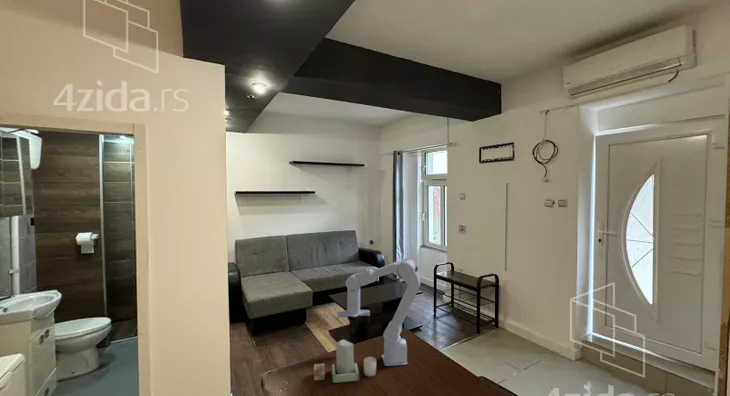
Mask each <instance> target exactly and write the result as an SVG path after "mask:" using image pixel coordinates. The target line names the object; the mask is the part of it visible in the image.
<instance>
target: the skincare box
mask: <svg viewBox="0 0 730 396" xmlns="http://www.w3.org/2000/svg"><path fill="white" fill-rule="evenodd" d="M335 348H336V349H335V350H336V351H335V353H336V373H337V374H347V373H355V371H354V363H355V359H354V358H355V357H354V356H355V355H354V353H355V351H354V350H355V349H354V343H352V342H350V341H348V340H346V339H341V340H339V341H337V342H336V343H335Z"/></svg>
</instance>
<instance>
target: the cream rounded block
mask: <svg viewBox="0 0 730 396" xmlns="http://www.w3.org/2000/svg"><path fill="white" fill-rule="evenodd" d="M376 374H377V358H375V357H373V356H366V357H365V358H364V359H363V375H364V376H367V377H373V376H376Z"/></svg>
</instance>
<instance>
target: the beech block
mask: <svg viewBox="0 0 730 396" xmlns="http://www.w3.org/2000/svg"><path fill="white" fill-rule="evenodd" d="M313 365H314V366H313V380H314V381H320V380H321V381H322V380H325V377H326V375H325V374H326V373H325V371H326V367H325V366H326V365H325V363H316V364H313Z"/></svg>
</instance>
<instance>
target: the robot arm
mask: <svg viewBox="0 0 730 396" xmlns="http://www.w3.org/2000/svg"><path fill="white" fill-rule="evenodd" d="M390 274H393V275H395V276H398V275H399V276H400V277H401V278H402V279H403V280H404V281H405V283H406V285H407V286H406V289H405V291H404V294H403V295H402V298H401V299H400V302H399V305H398V307H397V308H396V311H395V313H394V315H393V317H392V319H391V320H390V321H389V322H388V324H387V327H386V329H385V330H384V331H383V334H382V335H383V339H384V341H383V342H384V343H383V347H384V348H383V354H382V355H381V358H382V360H383V364H384V366H385V367H390V366H402V365H403V366H406V365H408V346H407V341H406V339H405V338H401V335H400V334H401V333H402V330H403V323H404V321H405V319H406V316H407V315H408V312H409V310H410V308H411V305H412V304H413V301H414V299H415V298H416V295H417V293H418V291H419V288H420V286H421V280H420V273H419V266H418V265H417V263H416V261H415V260H414V259H412V258H405V259H401V260H398V261H397V260H396V261H394V262H391V263H390V264H387V265H385V266H382V267H379V268H377V269H375V270H374V269H373V268H369V269H368V268H365V269H364V270H363V271H361V272H355V273H354V274H351V275H350V276H349V277H348V278H347V279H346V281H345V286H346V288H347V299H346V300H347V302H346V303H347V305H346V306H347V309H346V310H343V311H339V312H338V311H337V312H336V317H337V319H340V318H347V319H348V322H349V325H350V329H351V334H356V331H357V327H358V325H359V322H360V321H361V317H363V316H367V317H370V316H371V311H370V310H369V309H361V287H363V286H366V285H369V284H372V283H374V282H376V280H377V278H380V277H383V276H386V275H390Z"/></svg>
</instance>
